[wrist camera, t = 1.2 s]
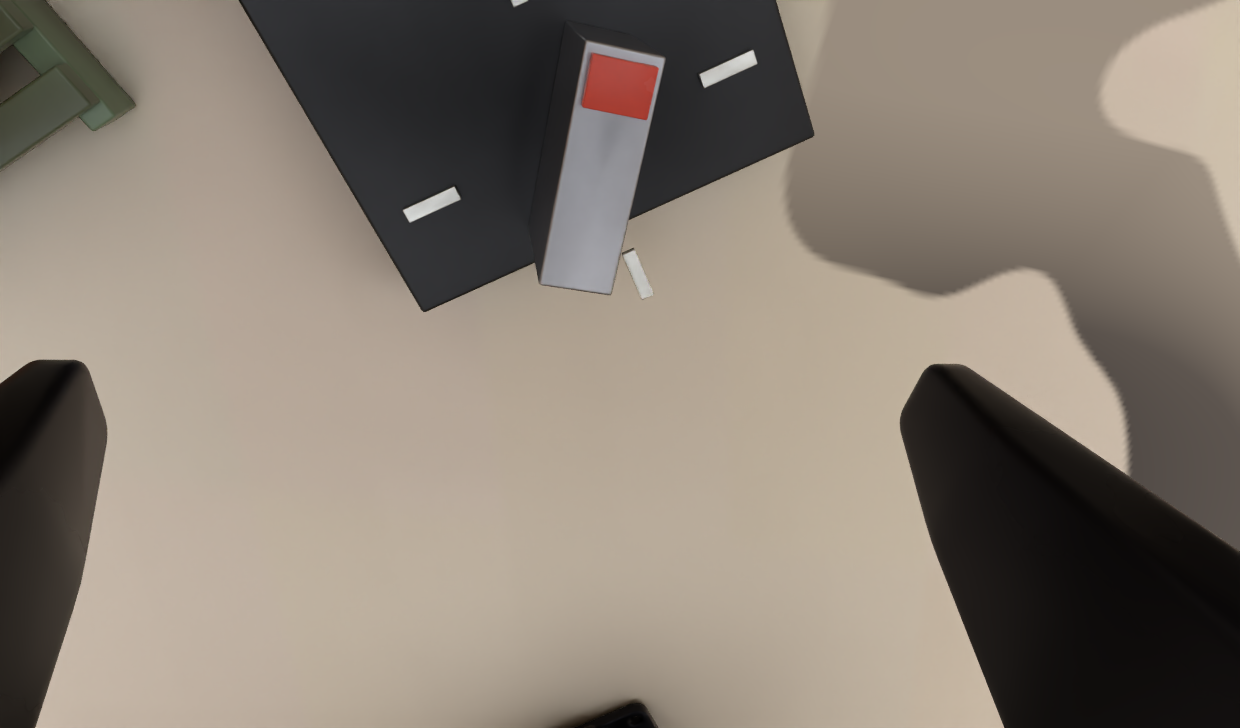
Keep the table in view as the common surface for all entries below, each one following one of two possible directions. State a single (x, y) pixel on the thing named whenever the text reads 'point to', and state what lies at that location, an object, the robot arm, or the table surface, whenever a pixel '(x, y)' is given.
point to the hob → (516, 112)
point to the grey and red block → (592, 156)
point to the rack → (52, 81)
